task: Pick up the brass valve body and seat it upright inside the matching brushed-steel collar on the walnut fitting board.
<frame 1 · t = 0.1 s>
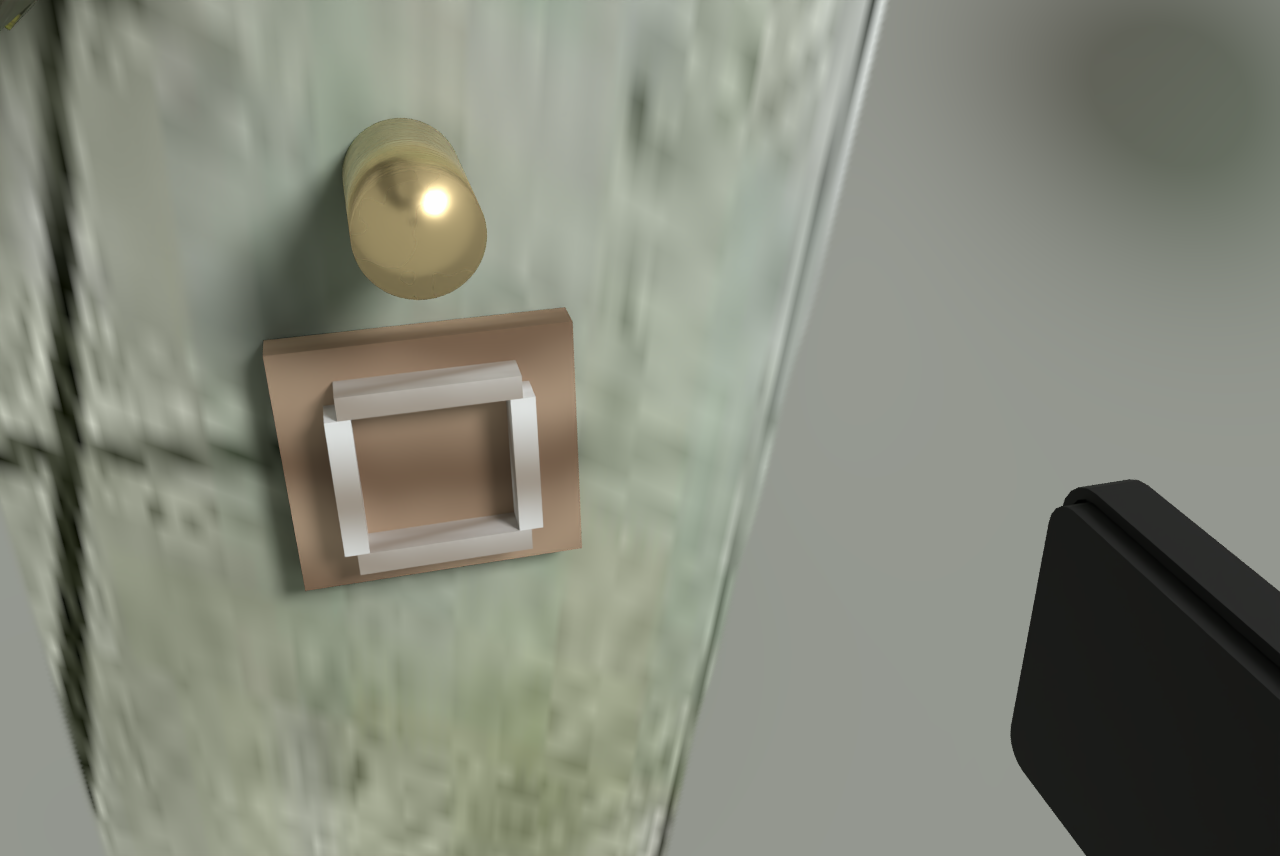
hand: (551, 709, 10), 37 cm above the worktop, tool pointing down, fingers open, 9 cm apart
fitting board: (431, 442, 50), on the worktop
valve body: (402, 176, 44), on the worktop
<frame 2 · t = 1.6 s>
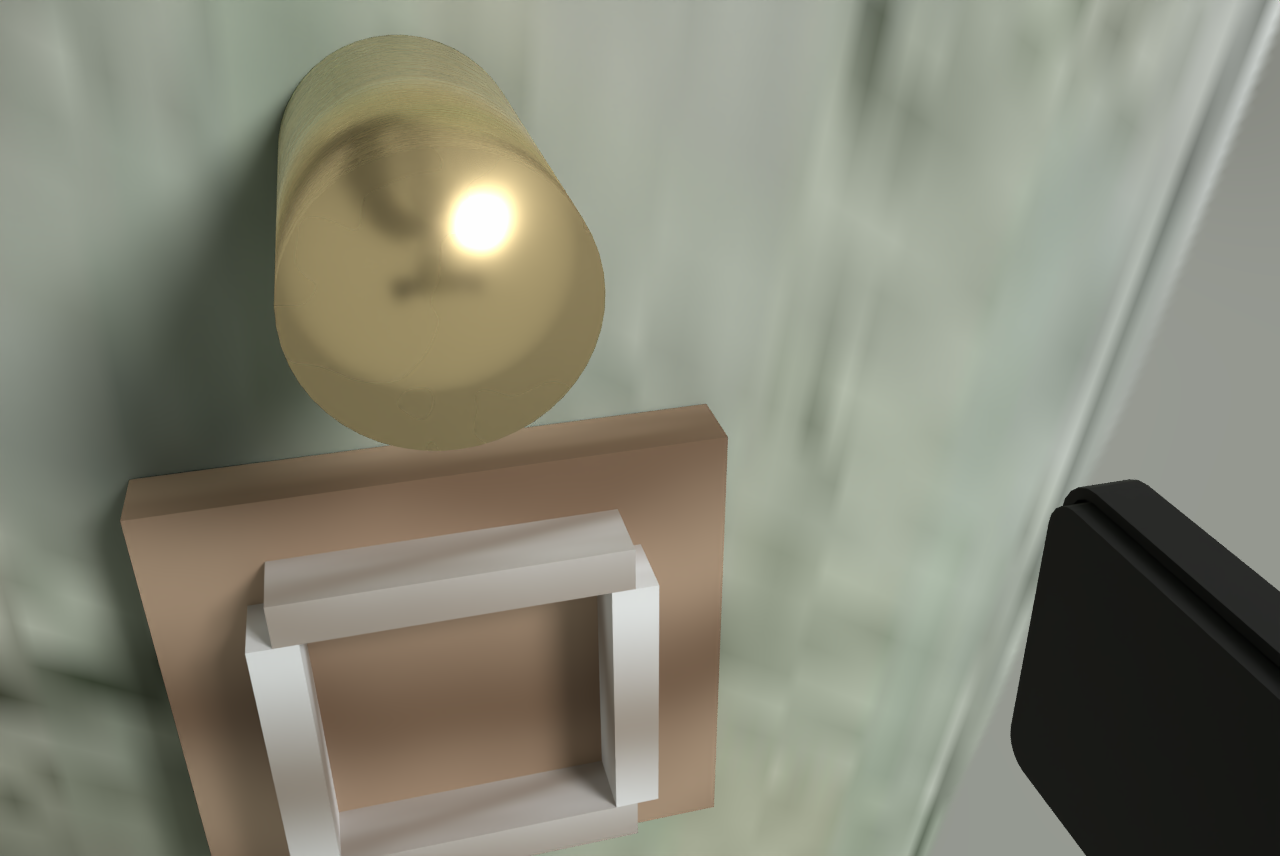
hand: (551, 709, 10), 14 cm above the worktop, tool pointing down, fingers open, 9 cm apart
fitting board: (454, 643, 27), on the worktop
valve body: (402, 158, 22), on the worktop
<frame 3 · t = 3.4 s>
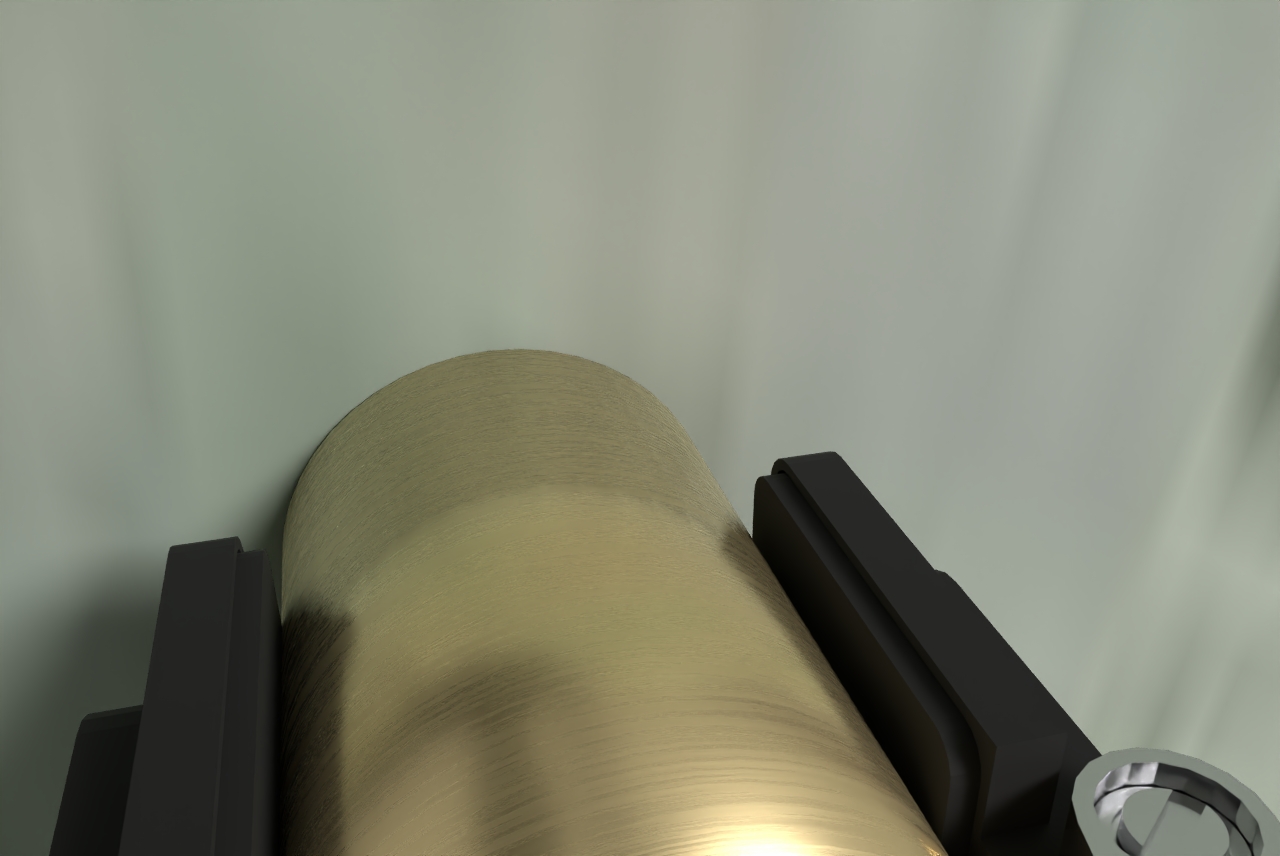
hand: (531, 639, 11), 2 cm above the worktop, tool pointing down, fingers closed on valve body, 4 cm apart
valve body: (505, 545, 12), on the worktop, touching gripper
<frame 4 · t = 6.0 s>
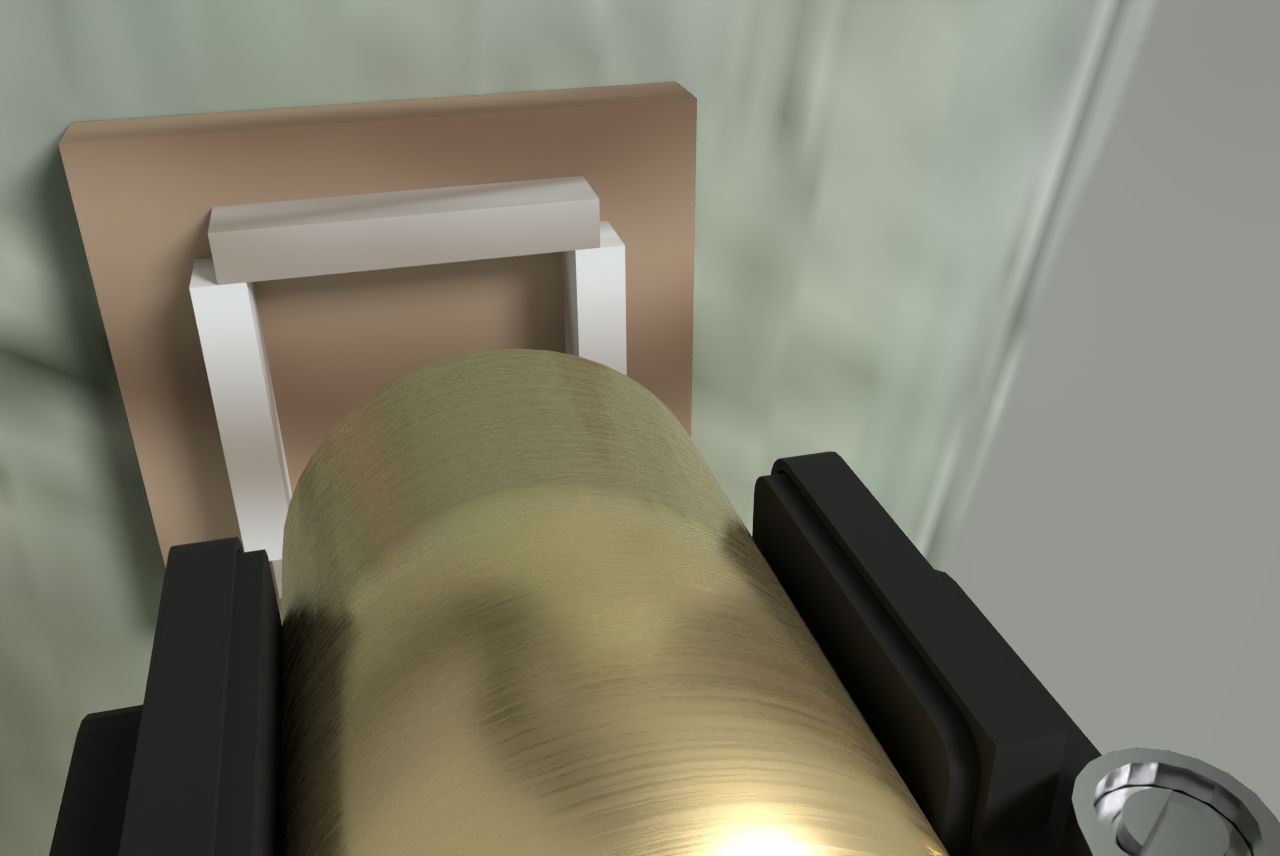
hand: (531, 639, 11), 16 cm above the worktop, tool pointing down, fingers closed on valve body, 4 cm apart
fitting board: (417, 347, 26), on the worktop
valve body: (505, 544, 12), point 14 cm above the worktop, touching gripper
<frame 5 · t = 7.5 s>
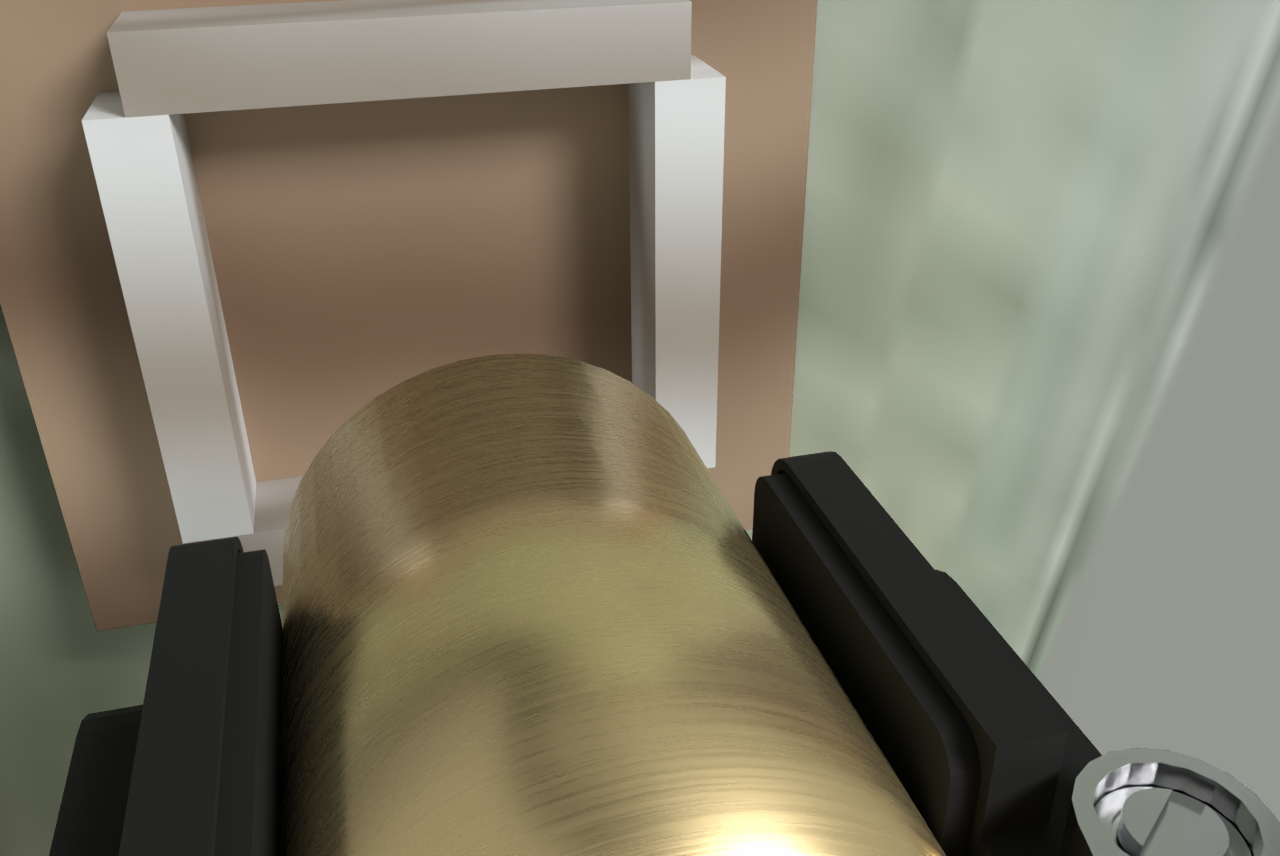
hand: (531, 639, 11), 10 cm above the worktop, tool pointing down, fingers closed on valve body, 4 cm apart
fitting board: (423, 247, 19), on the worktop
valve body: (506, 549, 12), point 8 cm above the worktop, touching gripper
when the fingers open (4 cm above the worktop, at t = 8.8 s): valve body drops 1 cm, resting on fitting board.
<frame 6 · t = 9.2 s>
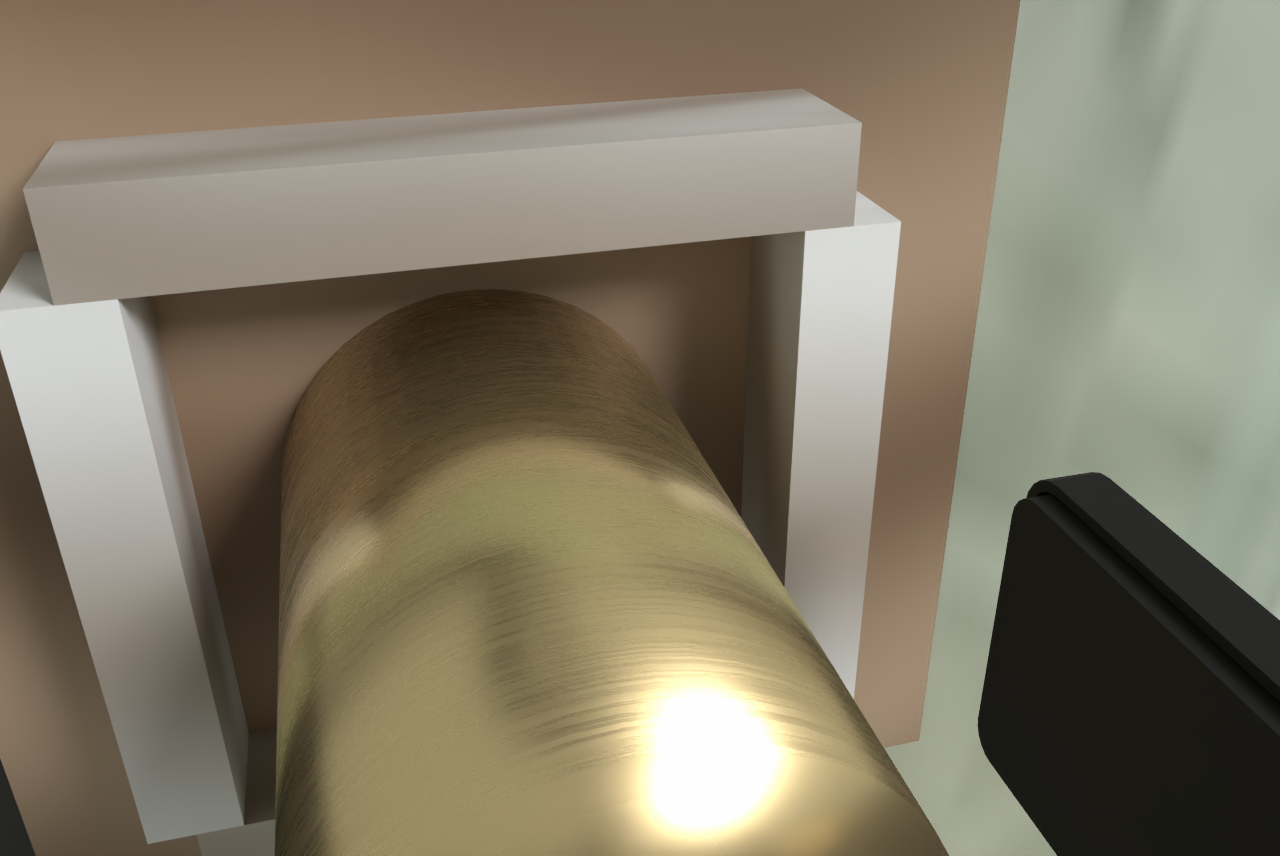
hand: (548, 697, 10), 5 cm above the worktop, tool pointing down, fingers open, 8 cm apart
fitting board: (468, 416, 15), on the worktop
valve body: (484, 471, 13), point 1 cm above the worktop, touching fitting board
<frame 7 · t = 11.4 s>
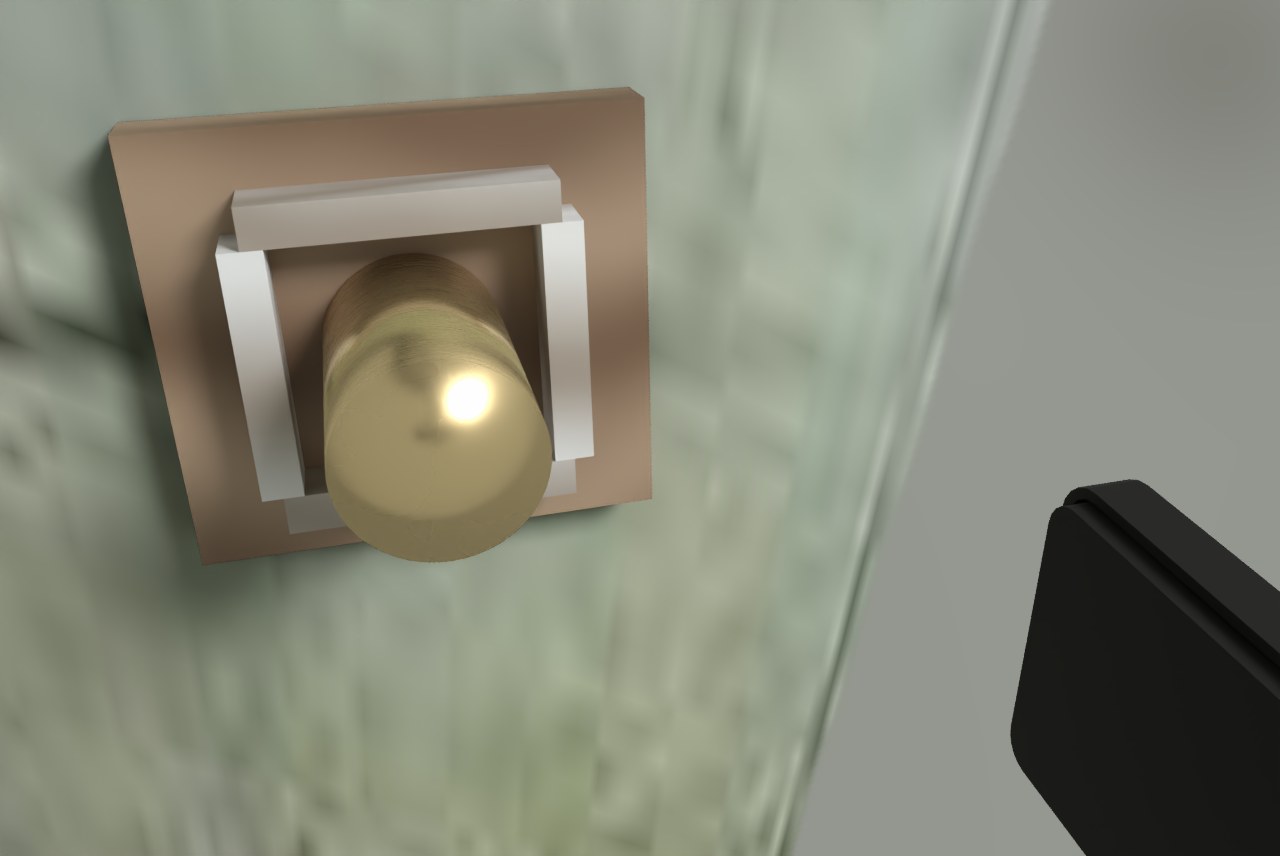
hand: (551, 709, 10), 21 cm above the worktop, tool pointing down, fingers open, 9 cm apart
fitting board: (410, 320, 30), on the worktop
valve body: (414, 338, 29), point 2 cm above the worktop, touching fitting board
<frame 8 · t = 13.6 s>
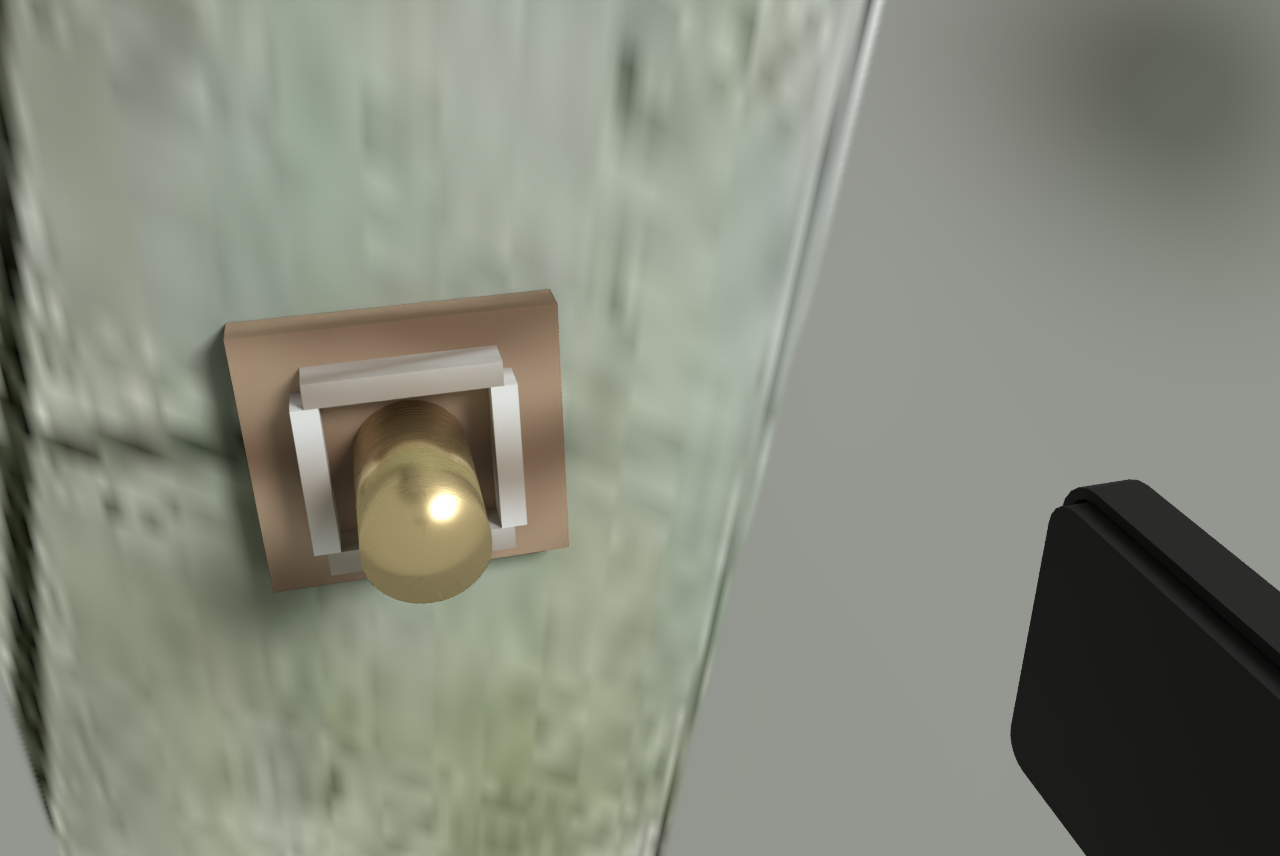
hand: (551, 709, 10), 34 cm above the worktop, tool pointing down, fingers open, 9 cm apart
fitting board: (408, 434, 47), on the worktop
valve body: (410, 451, 45), point 2 cm above the worktop, touching fitting board
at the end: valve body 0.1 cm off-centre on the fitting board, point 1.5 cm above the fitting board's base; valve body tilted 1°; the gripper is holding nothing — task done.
